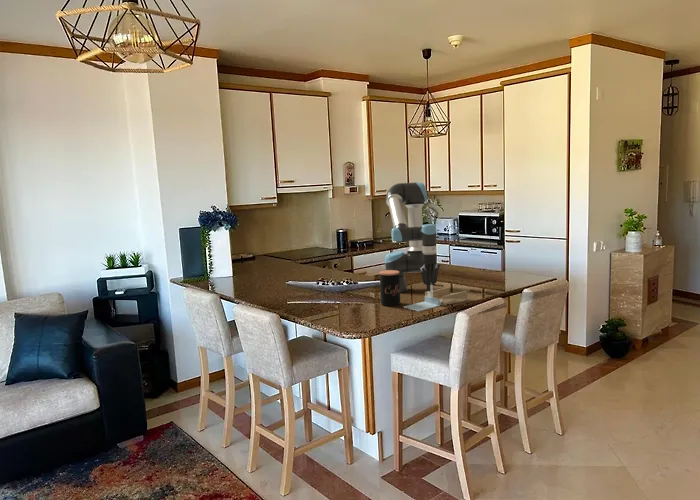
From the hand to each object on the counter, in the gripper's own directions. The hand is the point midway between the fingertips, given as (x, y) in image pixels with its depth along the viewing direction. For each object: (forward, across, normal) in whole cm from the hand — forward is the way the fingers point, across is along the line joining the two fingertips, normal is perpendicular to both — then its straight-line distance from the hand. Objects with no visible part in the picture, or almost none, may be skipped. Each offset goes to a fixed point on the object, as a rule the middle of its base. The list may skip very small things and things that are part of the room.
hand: (430, 296), depth 288 cm
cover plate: (+5, -6, 0) cm, 8 cm away
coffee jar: (+4, -15, +16) cm, 22 cm away
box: (+4, +12, 0) cm, 13 cm away
